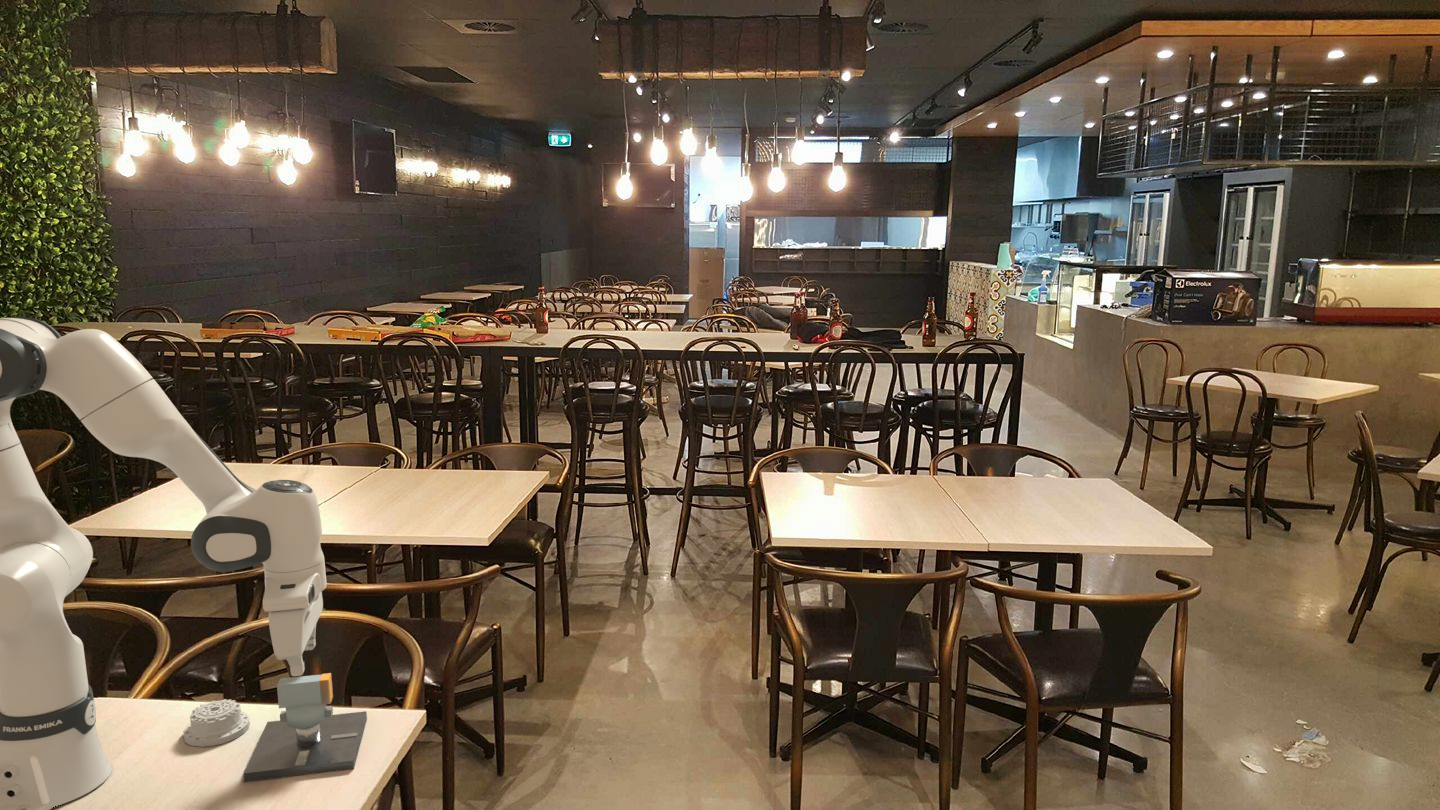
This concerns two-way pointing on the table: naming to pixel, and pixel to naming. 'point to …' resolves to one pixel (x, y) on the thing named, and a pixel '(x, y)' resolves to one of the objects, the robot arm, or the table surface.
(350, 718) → the post plate
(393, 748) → the table surface
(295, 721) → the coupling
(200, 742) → the mechanical component
